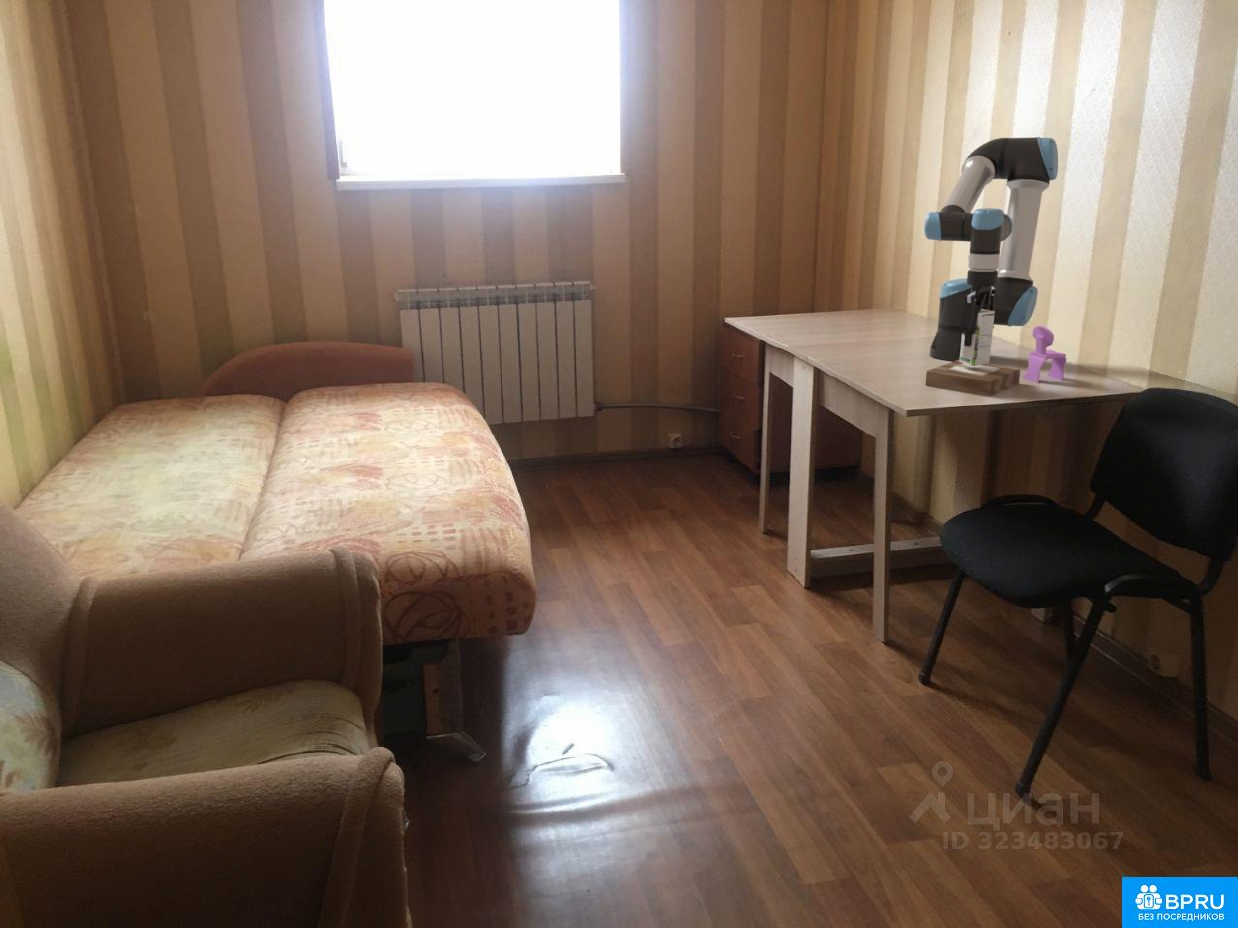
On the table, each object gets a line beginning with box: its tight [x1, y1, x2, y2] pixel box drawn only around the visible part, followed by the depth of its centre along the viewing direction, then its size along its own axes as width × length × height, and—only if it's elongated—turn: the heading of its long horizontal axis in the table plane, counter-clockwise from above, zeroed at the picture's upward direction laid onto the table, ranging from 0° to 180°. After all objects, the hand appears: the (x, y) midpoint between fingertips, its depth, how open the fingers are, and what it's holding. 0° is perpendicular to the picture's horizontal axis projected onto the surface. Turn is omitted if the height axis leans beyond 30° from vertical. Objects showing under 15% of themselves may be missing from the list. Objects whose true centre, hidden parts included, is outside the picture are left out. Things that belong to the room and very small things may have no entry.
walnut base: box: [925, 360, 1021, 397], centre depth 274 cm, size 18×18×4 cm
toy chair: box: [1022, 325, 1067, 384], centre depth 277 cm, size 8×9×15 cm
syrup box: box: [959, 309, 995, 366], centre depth 271 cm, size 6×6×14 cm
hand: (975, 355), depth 272 cm, fingers open, 7 cm apart
